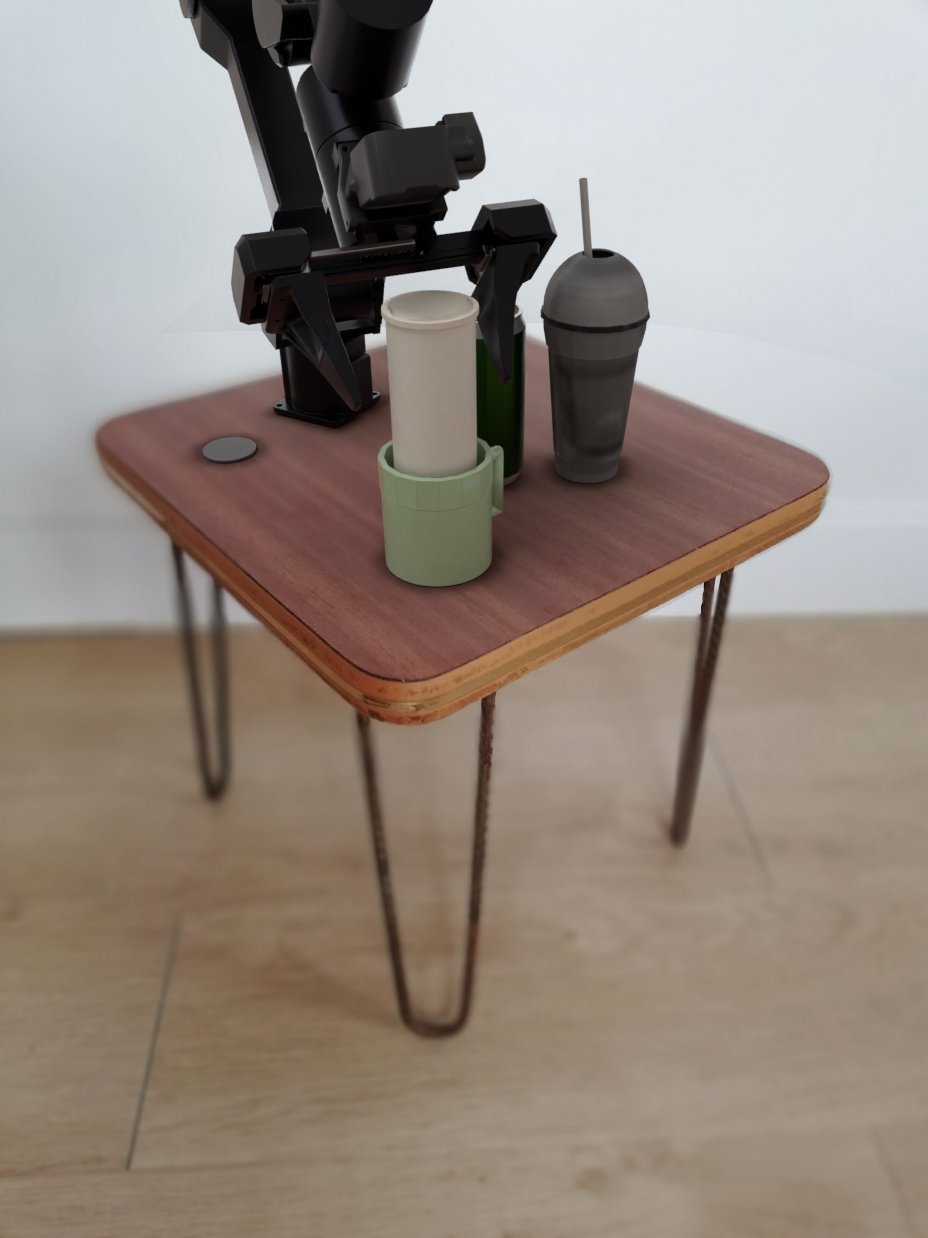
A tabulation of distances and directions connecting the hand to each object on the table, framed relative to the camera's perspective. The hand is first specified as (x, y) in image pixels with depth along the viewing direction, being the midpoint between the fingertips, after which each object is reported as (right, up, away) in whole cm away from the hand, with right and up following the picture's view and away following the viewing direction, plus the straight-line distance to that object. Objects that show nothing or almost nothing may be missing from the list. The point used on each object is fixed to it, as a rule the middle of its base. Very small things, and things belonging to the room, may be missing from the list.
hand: (433, 394), depth 63 cm
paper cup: (0, -5, +3) cm, 6 cm away
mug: (0, -9, +7) cm, 11 cm away
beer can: (+3, -2, +16) cm, 17 cm away
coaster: (-16, 0, +19) cm, 25 cm away
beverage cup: (+11, -2, +16) cm, 20 cm away
